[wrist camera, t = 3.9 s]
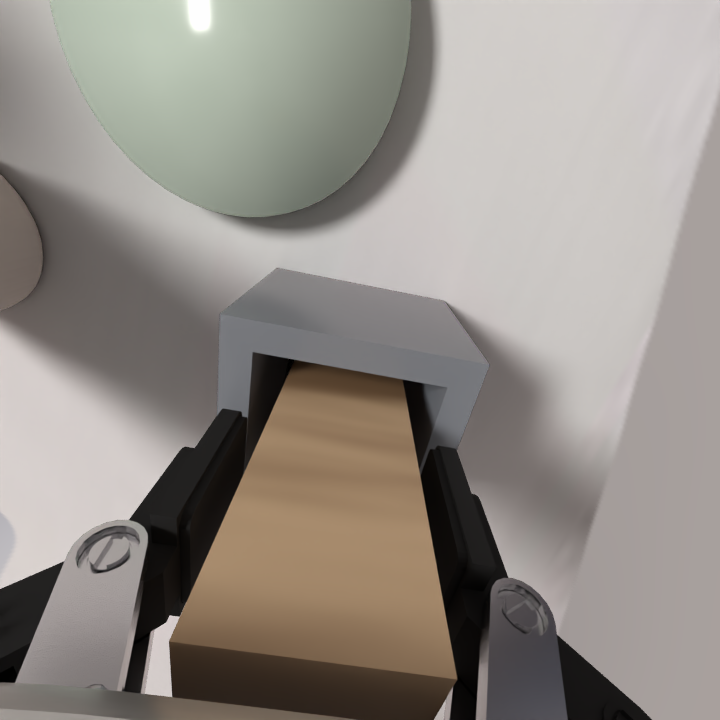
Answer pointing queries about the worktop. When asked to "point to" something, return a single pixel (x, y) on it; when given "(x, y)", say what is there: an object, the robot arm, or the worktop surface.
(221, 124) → the mint green dome
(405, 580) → the oak peg
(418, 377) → the gray open square box
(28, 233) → the coffee cup
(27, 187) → the worktop surface
